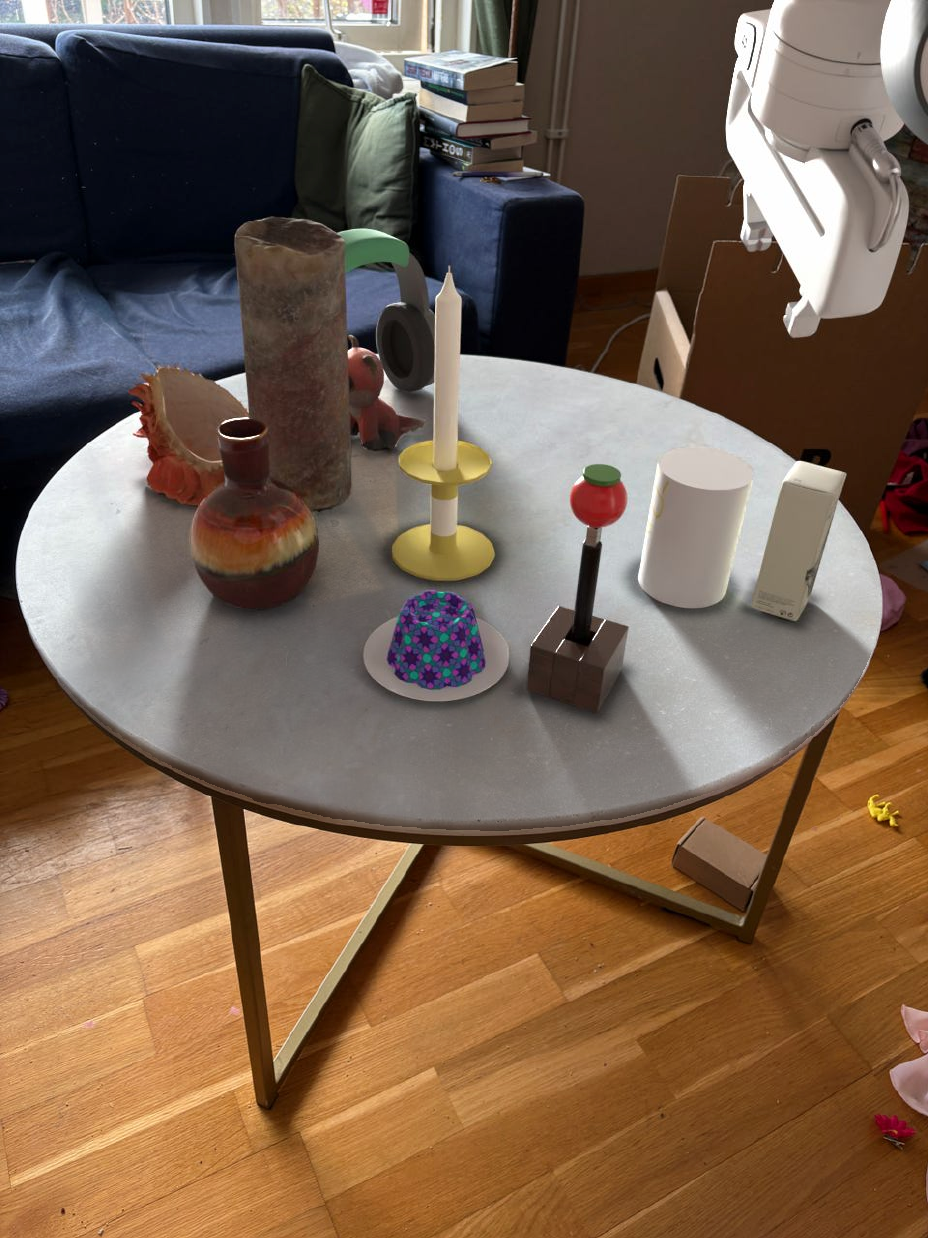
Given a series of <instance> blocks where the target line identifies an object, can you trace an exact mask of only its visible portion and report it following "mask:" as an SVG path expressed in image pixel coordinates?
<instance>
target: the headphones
mask: <svg viewBox="0 0 928 1238" xmlns="http://www.w3.org/2000/svg"><path fill="white" fill-rule="evenodd" d="M337 233H338V234H339V235H340V236H341V237H342V238H343V239H344V241H345V275H346V274H348V273H349V272H350V271H352V270H354V269H357V268H358V267H361V266H364V265H368V264H374V263H391V265H392V266H393V269H394V271H395V273H396V277H397V281H398V286H399V294H400V302H395V303H390V304H388V305H386V306H385V307H384V308H383V309H382V310H381V311H380V314H379V315H378V319H377V322H376V329H375V341H376V342H375V343H376V350H377V356H378V358H379V359H380V362H381V364H382V367H383V371H384V375H386V377H387V379H388V380H389V382H390V383H391V384H392V385H393V386H394V387H395V388H396V389H397V390H399V391H401V392H404V393H412V392H413V393H414V392H417V391H420V390H423V388H425V387H428V386H432V385H433V384H435V313H434V312H433V310H432V309H430V298H429V289H428V283H427V280H426V276H425V274H424V271H423V268H422V267H421V265H420V263H419V261H418V259H416V258H415V256H414V255H412V253H411V252H410V248H409V245H408V244H407V243H406V242H405V241H403V240H401V239H399V238H396V237H394V236H392V235H390V234H388V233H385V232H383V231H379V230H376V229H369V228H353V229H348V230H343V231H339V232H337Z"/></svg>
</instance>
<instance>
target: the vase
mask: <svg viewBox="0 0 928 1238" xmlns="http://www.w3.org/2000/svg"><path fill="white" fill-rule="evenodd" d="M216 433H217V439H218V444H219V448H220V453H221V457H222V462H223V468H224V474H225V482H223V483H221V484H220V485H218V486H217V487H215V488H214V489H213V490H212V491H210V492H209V493H208V494H207V496H206V497H205V498H204V499H203V500H202V501H201V503H200V505H197V508H196V510H195V512H194V514H193V517H192V520H191V523H190V528H189V550H190V555H191V560H192V562H193V565H194V568H195V570H196V573H197V574H198V577H199V578H200V580H201V582H202V583H203V585H204V586H205V587H206V589H207V590H208V591H209V592H210V593H211V594H212V595H213V596H214V597H216V598H217V599H218V600H219V601H221V602H223V603H224V604H226V605H229V606H231V607H234V608H238V609H242V610H252V611H253V610H258V611H259V610H266V609H267V610H268V609H272V608H273V609H274V608H276V607H279V606H282V605H284V604H286V603H287V604H288V602H290V601H292V600H294V598H296V597H298V596H299V595H300V594H301V593H302V592H303V591H304V590H305V589H306V588H307V587H308V585H309V583H310V582H311V580H312V578H313V575H314V574H315V570H316V568H317V563H318V559H319V551H320V533H319V529H318V524H317V520H316V517H315V515H314V514H313V511H311V510H310V508H309V506H308V505H307V503H306V502H305V501H304V499H303V498H302V497H301V496H300V495H299V494H298V493H297V492H296V491H294V490H293V489H292V488H290V487H289V486H288V485H286V484H284V483H282V482H280V481H278V480H276V479H273V478H271V476H270V468H269V437H268V427H267V425H266V424H265V423H264V422H262V421H260V420H256V419H251V418H239V419H233V420H229V421H226V422H224V423H222V424H220V425H219V426H218V428H217V430H216Z"/></svg>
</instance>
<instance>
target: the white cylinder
mask: <svg viewBox="0 0 928 1238" xmlns="http://www.w3.org/2000/svg"><path fill="white" fill-rule="evenodd" d="M754 478H755V471H754V468H753V467H752V465H751V464H750V463H749V462H748V461H747V460H746V459H744V458H742V457H740V456H738V455H737V454H735V453H733V452H729V451H726V450H724V449H719V448H716V447H715V448H714V447H710V446H700V445H699V446H698V445H689V446H688V445H687V446H686V445H685V446H679V447H674V448H671V449H668V450H666V451H665V452H662V454H660V456H659V457H658V460H657V465H656V472H655V476H654V483H653V489H652V495H651V501H650V507H649V510H648V511H649V512H648V518H647V524H646V529H645V535H644V540H643V547H642V552H641V559H640V565H639V570H638V575H637V580H638V584H639V586H640V587H641V589H642V590H643V591H644V593H645V594H647V595H648V596H649V597H651V598H653V599H654V600H656V601H658V602H660V603H662V604H665V605H669V606H673V607H675V608H682V609H683V608H684V609H703V608H707V607H710V606H711V607H712V606H714V605H716V604H717V603H719V602H721V601H722V600H723V599H724V598H725V596H726V594H727V589H728V587H729V580H730V577H731V573H732V569H733V565H734V561H735V556H736V552H737V549H738V548H737V547H738V544H739V541H740V536H741V532H742V527H743V524H744V520H745V515H746V511H747V507H748V503H749V499H750V494H751V491H752V487H753V486H752V485H753V483H754Z"/></svg>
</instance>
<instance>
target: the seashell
mask: <svg viewBox="0 0 928 1238" xmlns="http://www.w3.org/2000/svg"><path fill="white" fill-rule="evenodd" d="M140 377H141V378H142V379H143V380H144V381H145V382H138V383H136V384H135V387H132V388H129V389H128V394H130V395H133V396H136V397H137V398H139V399H140V401H142V402H143V403H144V405H143V404H141V403H140V402H138V401H136V400H133V401H132V402H131V405H133V406H134V407H136V408H138V410H139V411H140V413H141V415H140V417H139V421H140V424H141V426H140V428H138V430H136V432H132V436H134V437H136V438H140V439H147V441H148V446H146V447H147V449H146V450H147V451H146V453H147V454H148V455H147V457H148V459H149V460H150V461H151V463H152V466H151V467H150V470H149V471H148V473H147V476H146V482H147V486H149V487H150V488H151V489H152V491H153V492H156V493H157V494H164V495H165V497H166V498H168V499H171V500H176V501H177V502H179V504H180V505H188V506H189V505H190V506H199V505H200V503H201V501H202V500H203V499H204V498H205V497H206V496H207V494H208V493H209V492H210V491H212V490H213V489H214V488H215V487H217V486H218V485H220V484H221V483H223V482H225V474H224V468H223V462H222V457H221V453H220V448H219V444H218V439H217V433H216V430H217V428H218V426H219V425H220V424H222V423H224V422H226V421H229V420H233V419H239V418H249V411H248V407H247V408H246V407H245V406H244V405H243V403H242V401H240V400H238V399H237V397H235V396H234V395H233V394H232V393H231V392H230V391H229V390H227V388H225V387H223V386H221V385H220V384H219V383H218V384H217V382H216V381H214V380H211V379H208V378H205V377H204V376H202V374H201V373H200V372H199V373H198V374H194V372H193V371H189V370H188V368H187V366H183V370H182V369H181V368H179V366H178V364H177V362H174V363H173V367H171V366H170V365H169V364H166V365H165V366H160V365H159V364H157V368H156V372H155V374H153V373H151V374H148V373H147V374H146V373H141V374H140Z"/></svg>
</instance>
